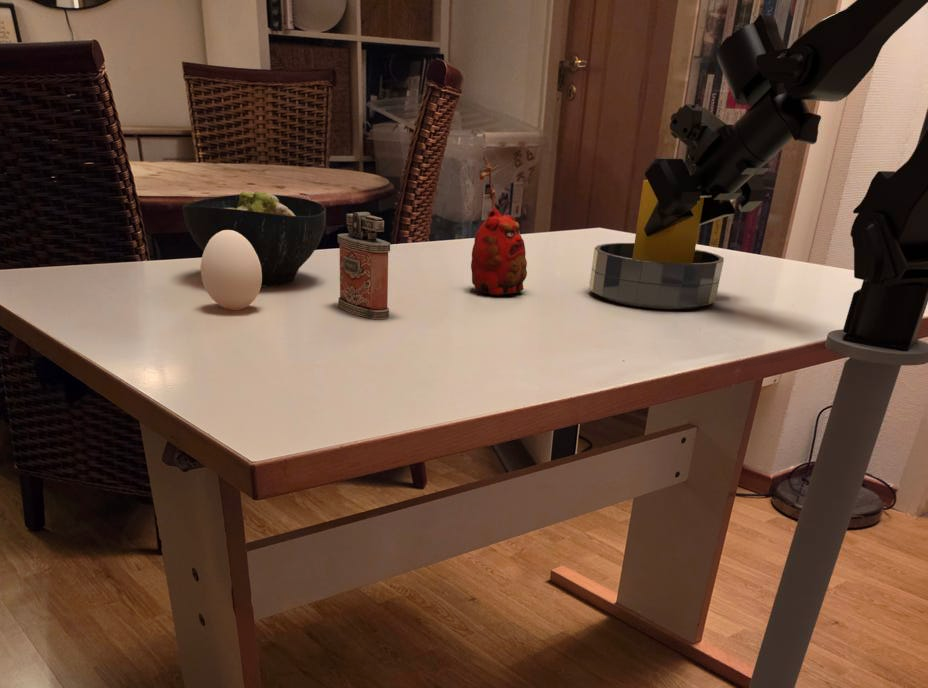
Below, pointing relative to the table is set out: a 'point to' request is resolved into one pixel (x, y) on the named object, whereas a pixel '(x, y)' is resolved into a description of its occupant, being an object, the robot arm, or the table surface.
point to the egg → (231, 270)
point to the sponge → (665, 234)
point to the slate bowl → (654, 279)
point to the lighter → (364, 267)
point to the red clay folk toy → (498, 252)
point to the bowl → (262, 228)
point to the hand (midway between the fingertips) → (658, 232)
